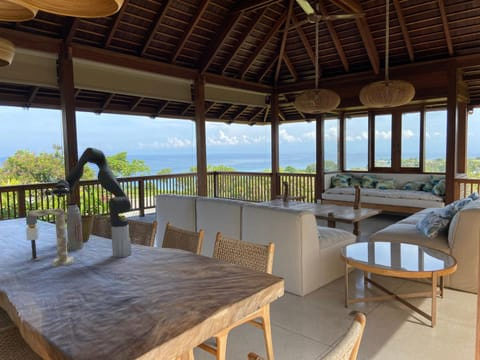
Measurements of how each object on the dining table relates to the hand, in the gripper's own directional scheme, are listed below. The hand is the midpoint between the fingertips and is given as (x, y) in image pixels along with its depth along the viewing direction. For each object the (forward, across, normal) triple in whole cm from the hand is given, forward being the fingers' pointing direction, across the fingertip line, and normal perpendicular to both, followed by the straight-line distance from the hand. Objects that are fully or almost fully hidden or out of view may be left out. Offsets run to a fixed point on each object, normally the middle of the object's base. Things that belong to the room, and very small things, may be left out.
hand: (58, 193), depth 185 cm
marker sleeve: (+12, -11, +22) cm, 27 cm away
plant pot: (-30, +9, +36) cm, 48 cm away
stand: (+12, -3, +36) cm, 38 cm away
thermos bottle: (-13, +6, +36) cm, 39 cm away
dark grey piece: (+12, -11, +33) cm, 37 cm away
